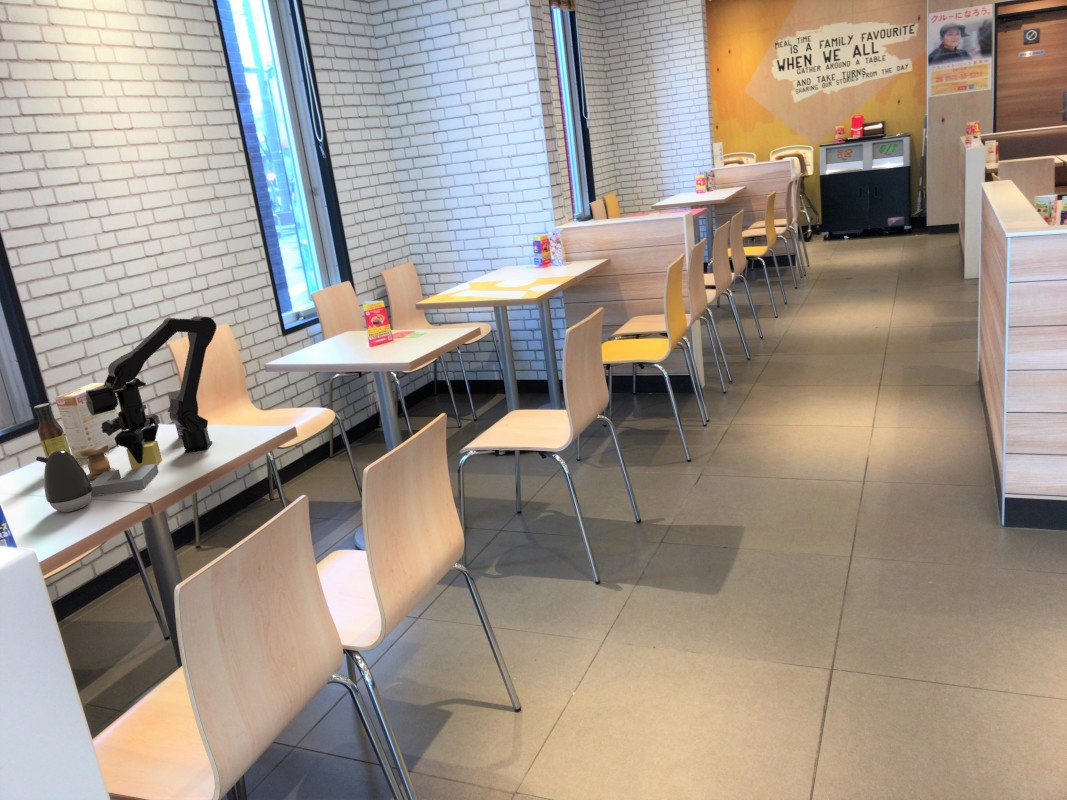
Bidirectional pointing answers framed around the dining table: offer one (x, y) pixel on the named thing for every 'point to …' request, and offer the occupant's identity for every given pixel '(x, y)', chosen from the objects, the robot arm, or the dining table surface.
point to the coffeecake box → (84, 421)
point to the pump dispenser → (65, 482)
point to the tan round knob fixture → (96, 460)
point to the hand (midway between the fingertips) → (145, 457)
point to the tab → (147, 455)
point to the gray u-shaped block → (123, 480)
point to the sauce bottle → (50, 431)
